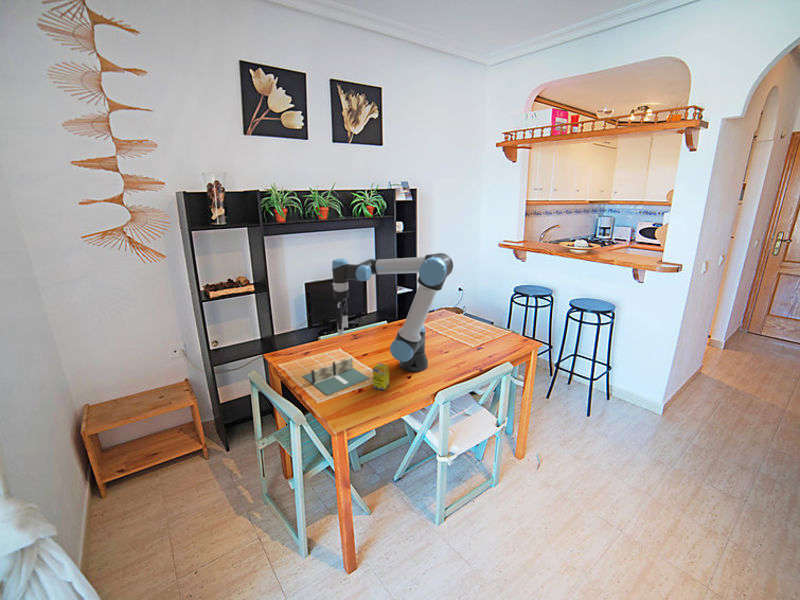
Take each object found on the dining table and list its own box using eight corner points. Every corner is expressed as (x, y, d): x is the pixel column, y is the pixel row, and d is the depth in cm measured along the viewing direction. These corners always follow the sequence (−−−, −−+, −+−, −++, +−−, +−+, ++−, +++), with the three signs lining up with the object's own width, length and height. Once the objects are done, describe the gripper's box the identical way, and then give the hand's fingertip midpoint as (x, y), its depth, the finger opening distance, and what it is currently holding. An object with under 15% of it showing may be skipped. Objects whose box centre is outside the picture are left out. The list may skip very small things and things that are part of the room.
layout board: (369, 378, 187) (369, 377, 187) (327, 395, 172) (327, 394, 172) (343, 362, 204) (342, 361, 204) (302, 376, 189) (302, 375, 189)
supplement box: (372, 388, 178) (372, 368, 174) (378, 382, 183) (377, 362, 180) (384, 391, 176) (384, 370, 172) (389, 385, 181) (389, 364, 178)
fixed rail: (331, 375, 189) (330, 363, 187) (333, 376, 188) (332, 364, 186) (311, 382, 182) (310, 370, 180) (313, 384, 181) (312, 371, 179)
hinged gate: (334, 375, 189) (333, 363, 187) (332, 374, 190) (332, 362, 188) (352, 368, 196) (352, 356, 194) (351, 367, 197) (350, 356, 195)
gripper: (338, 283, 199) (340, 323, 206) (328, 296, 178) (330, 339, 184) (352, 284, 199) (354, 323, 205) (343, 296, 177) (345, 339, 184)
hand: (343, 331), depth 195 cm, fingers open, 10 cm apart
